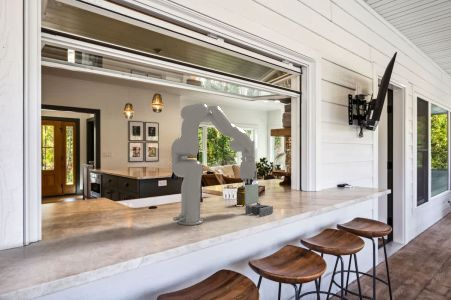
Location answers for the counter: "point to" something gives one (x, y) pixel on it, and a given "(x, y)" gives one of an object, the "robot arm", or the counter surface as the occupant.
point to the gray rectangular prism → (257, 209)
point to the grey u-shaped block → (262, 212)
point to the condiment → (241, 196)
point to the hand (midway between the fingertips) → (248, 190)
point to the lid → (251, 194)
